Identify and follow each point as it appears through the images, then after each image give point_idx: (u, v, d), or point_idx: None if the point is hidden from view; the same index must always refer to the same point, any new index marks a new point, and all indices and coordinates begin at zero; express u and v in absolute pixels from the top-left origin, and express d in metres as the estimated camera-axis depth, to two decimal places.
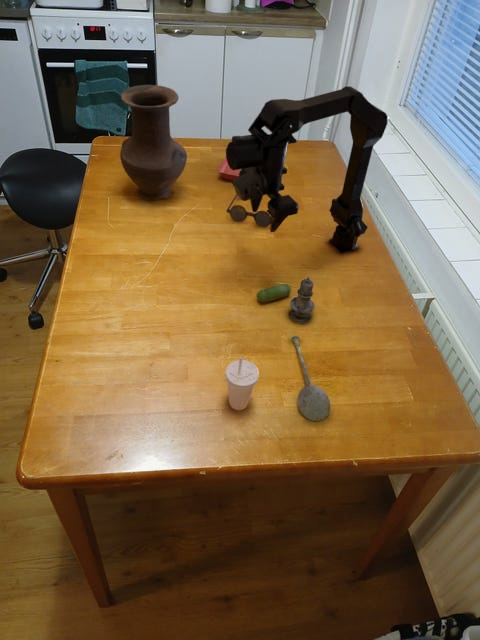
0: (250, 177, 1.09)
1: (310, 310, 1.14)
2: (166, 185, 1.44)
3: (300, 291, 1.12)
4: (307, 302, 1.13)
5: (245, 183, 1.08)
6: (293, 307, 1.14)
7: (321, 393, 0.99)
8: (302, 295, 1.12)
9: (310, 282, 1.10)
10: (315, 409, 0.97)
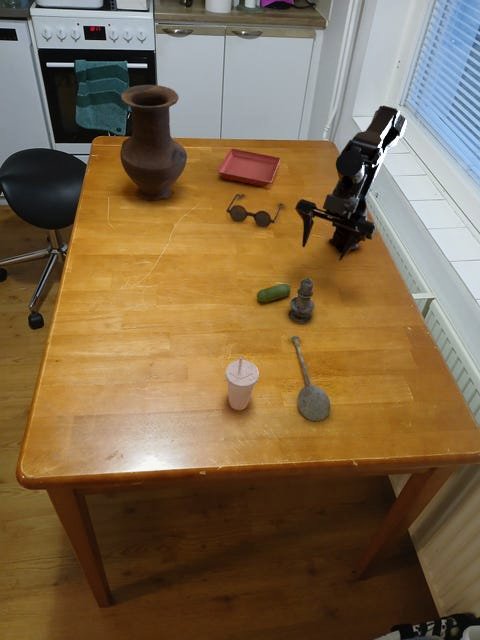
0: (339, 196, 1.09)
1: (310, 310, 1.14)
2: (166, 185, 1.44)
3: (300, 291, 1.12)
4: (307, 302, 1.13)
5: (341, 198, 1.07)
6: (293, 307, 1.14)
7: (321, 393, 0.99)
8: (302, 295, 1.12)
9: (310, 282, 1.10)
10: (315, 409, 0.97)
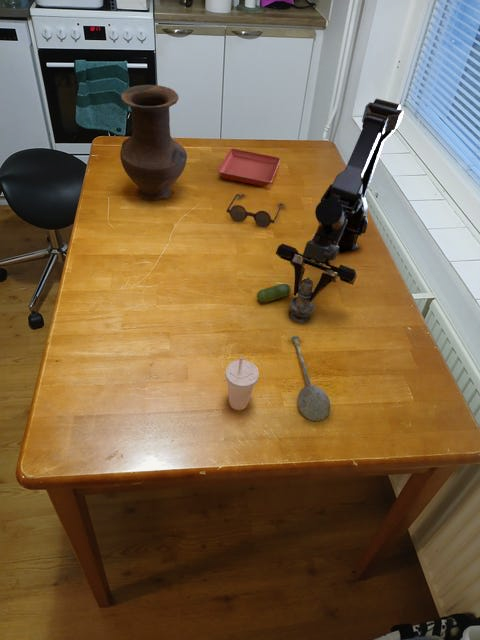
0: (319, 243, 1.07)
1: (310, 310, 1.14)
2: (166, 185, 1.44)
3: (300, 291, 1.12)
4: (307, 302, 1.13)
5: (321, 245, 1.06)
6: (293, 307, 1.14)
7: (321, 393, 0.99)
8: (302, 295, 1.12)
9: (310, 282, 1.10)
10: (315, 409, 0.97)
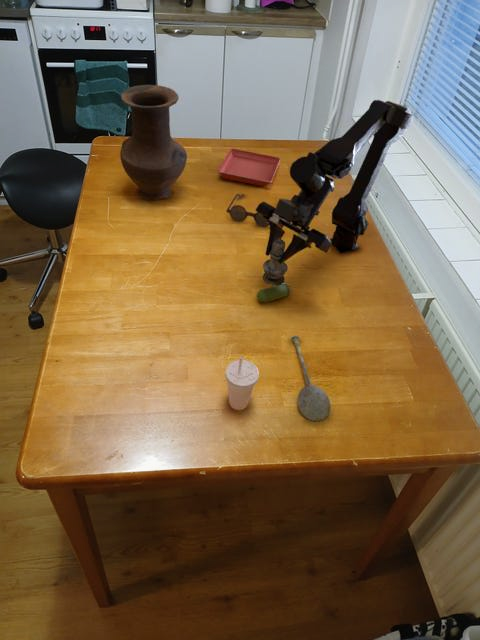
0: (294, 203, 1.06)
1: (281, 273, 1.13)
2: (166, 185, 1.44)
3: (272, 251, 1.11)
4: (278, 264, 1.12)
5: (294, 204, 1.04)
6: (265, 267, 1.14)
7: (321, 393, 0.99)
8: (273, 255, 1.11)
9: (281, 242, 1.09)
10: (315, 409, 0.97)
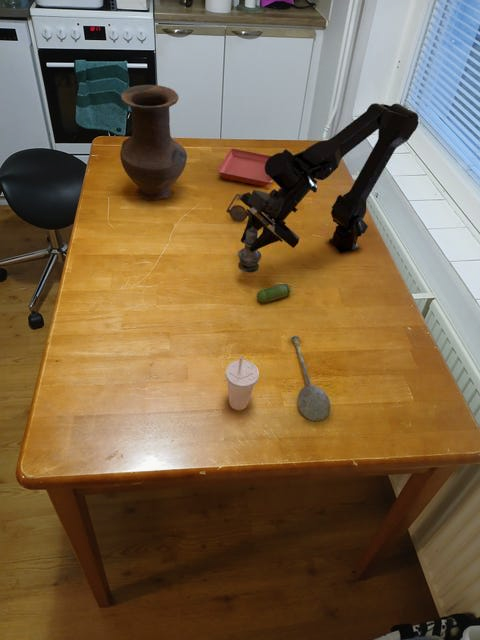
0: (269, 196, 1.12)
1: (251, 261, 1.19)
2: (166, 185, 1.44)
3: None
4: (250, 252, 1.18)
5: (266, 197, 1.10)
6: (239, 253, 1.21)
7: (321, 393, 0.99)
8: (246, 243, 1.17)
9: (253, 231, 1.15)
10: (315, 409, 0.97)
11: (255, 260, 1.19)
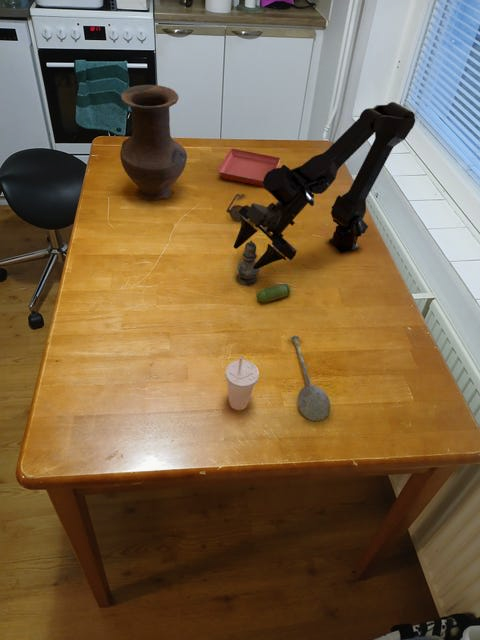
0: (267, 209, 1.14)
1: (250, 273, 1.22)
2: (166, 185, 1.44)
3: (244, 252, 1.21)
4: (249, 265, 1.21)
5: (264, 210, 1.13)
6: (238, 266, 1.24)
7: (321, 393, 0.99)
8: (244, 256, 1.20)
9: (252, 245, 1.18)
10: (315, 409, 0.97)
11: (253, 273, 1.22)
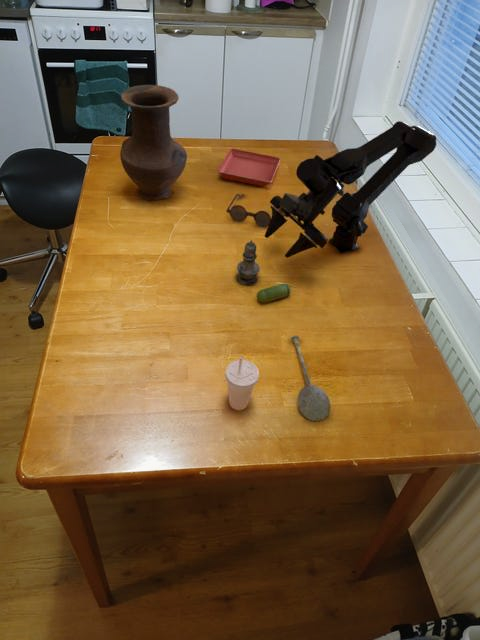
0: (299, 199, 1.18)
1: (250, 273, 1.22)
2: (166, 185, 1.44)
3: (244, 252, 1.21)
4: (249, 265, 1.21)
5: (296, 200, 1.16)
6: (238, 266, 1.24)
7: (321, 393, 0.99)
8: (244, 256, 1.20)
9: (252, 245, 1.18)
10: (315, 409, 0.97)
11: (253, 273, 1.22)
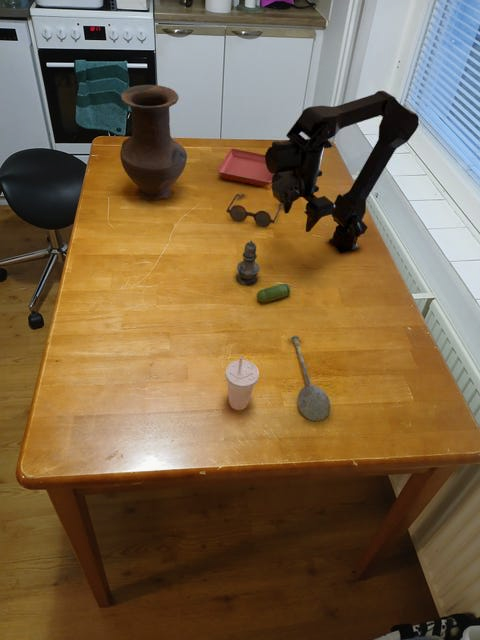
0: (288, 181, 1.14)
1: (250, 273, 1.22)
2: (166, 185, 1.44)
3: (244, 252, 1.21)
4: (249, 265, 1.21)
5: (284, 187, 1.14)
6: (238, 266, 1.24)
7: (321, 393, 0.99)
8: (244, 256, 1.20)
9: (252, 245, 1.18)
10: (315, 409, 0.97)
11: (253, 273, 1.22)
